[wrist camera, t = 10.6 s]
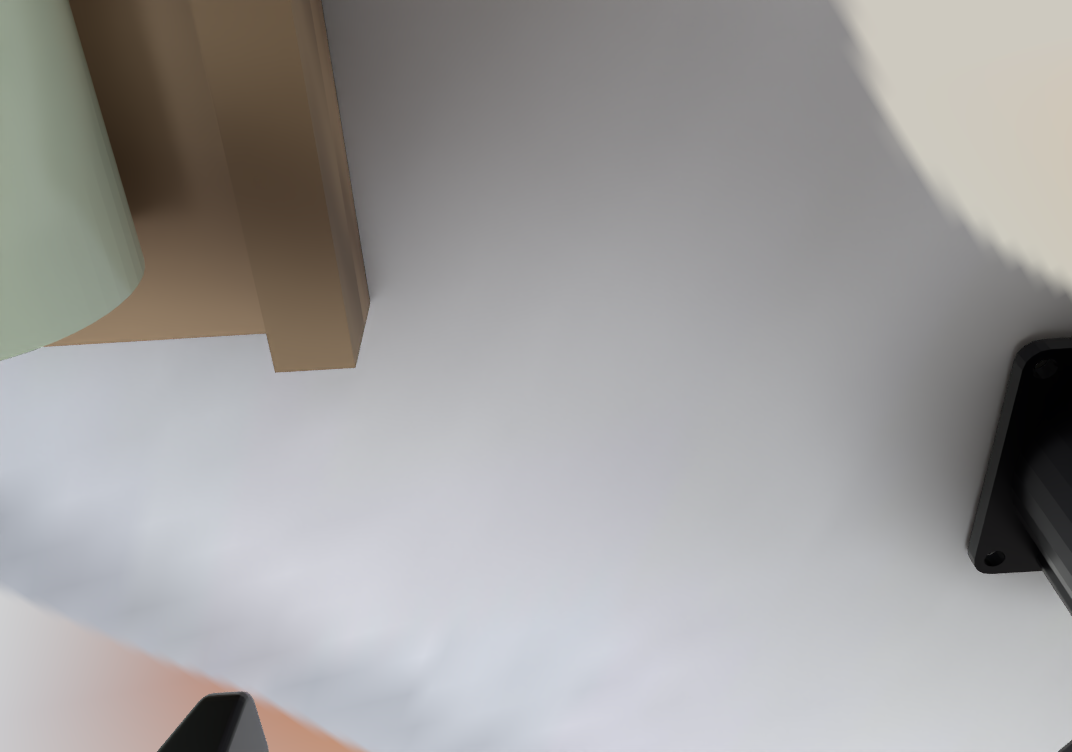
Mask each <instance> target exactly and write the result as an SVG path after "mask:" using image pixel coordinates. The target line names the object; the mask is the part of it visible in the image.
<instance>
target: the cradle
mask: <svg viewBox="0 0 1072 752" xmlns="http://www.w3.org/2000/svg"><path fill="white" fill-rule="evenodd" d="M69 4H70V7H71V11H72V14H73V18H74V21H75V24H76V28H77V31H78V35H79V38H80V41H81V45H82V48H83V52H84V55H85V59H86V62H87V65H88V69H89V72H90V76H91V79H92V82H93V86H94V89H95V93H96V96H97V100H98V103H99V106H100V110H101V113H102V117H103V120H104V123H105V127H106V130H107V134H108V137H109V141H110V144H111V147H112V151H113V154H114V158H115V161H116V164H117V168H118V171H119V175H120V178H121V182H122V185H123V188H124V192H125V195H126V199H127V202H128V205H129V209H130V212H131V216H132V219H133V222H134V226H135V229H136V233H137V236H138V240H139V243H140V246H141V250H142V253H143V257H144V261H145V270H144V275H143V277H142V279H141V281H140V283H139V285H138V286H137V287H136V289H135V290H134V291H133V292H132V294H131V295H130V296H129V297H128V298H126V299H125V300H124V301H123V302H122V303H121V304H120V305H119V306H117V307H116V308H115V309H113V310H112V311H111V312H110V313H108V314H107V315H105V316H104V317H102V318H100V319H99V320H97V321H96V322H94V323H92V324H91V325H89V326H87V327H85V328H83V329H81V330H79V331H78V332H76V333H74V334H71V335H69V336H67V337H65V338H63V339H60V340H58V341H56V342H54V343H51V344H48V345H46V346H43V347H48V346H64V345H81V344H97V343H114V342H131V341H147V340H164V339H181V338H197V337H214V336H230V335H247V334H264V333H266V335H267V339H268V344H269V348H270V352H271V357H272V361H273V365H274V370H275V372H292V371H308V370H325V369H342V368H355V367H356V363H357V359H358V354H359V350H360V345H361V341H362V337H363V332H364V328H365V324H366V319H367V315H368V310H369V306H370V300H369V293H368V287H367V281H366V275H365V269H364V262H363V256H362V250H361V244H360V238H359V231H358V225H357V219H356V213H355V207H354V200H353V194H352V188H351V182H350V176H349V169H348V163H347V157H346V151H345V145H344V138H343V132H342V126H341V120H340V114H339V107H338V101H337V95H336V89H335V83H334V77H333V70H332V64H331V58H330V52H329V46H328V39H327V33H326V27H325V21H324V15H323V8H322V2H321V0H69Z"/></svg>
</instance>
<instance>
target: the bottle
mask: <svg viewBox="0 0 1072 752" xmlns="http://www.w3.org/2000/svg"><path fill="white" fill-rule="evenodd" d="M144 270H145V261H144V257H143V253H142V250H141V246H140V243H139V240H138V236H137V233H136V229H135V226H134V222H133V219H132V216H131V212H130V209H129V205H128V202H127V199H126V195H125V192H124V188H123V185H122V182H121V178H120V175H119V171H118V168H117V164H116V161H115V158H114V154H113V151H112V147H111V144H110V141H109V137H108V134H107V130H106V127H105V123H104V120H103V117H102V113H101V110H100V106H99V103H98V100H97V96H96V93H95V89H94V86H93V82H92V79H91V76H90V72H89V69H88V65H87V62H86V59H85V55H84V52H83V48H82V45H81V41H80V38H79V35H78V31H77V28H76V24H75V21H74V18H73V14H72V11H71V7H70V4H69V0H0V361H1V360H4V359H8V358H11V357H15V356H18V355H21V354H24V353H27V352H30V351H33V350H36V349H38V348H41V347H43V346H46V345H48V344H51V343H54V342H56V341H58V340H60V339H63V338H65V337H67V336H69V335H71V334H74V333H76V332H78V331H79V330H81V329H83V328H85V327H87V326H89V325H91V324H92V323H94V322H96V321H97V320H99V319H100V318H102V317H104V316H105V315H107V314H108V313H110V312H111V311H112V310H113V309H115V308H116V307H117V306H119V305H120V304H121V303H122V302H123V301H124V300H125V299H126V298H128V297H129V296H130V295H131V294H132V292H133V291H134V290H135V289H136V287H137V286H138V285H139V283H140V281H141V279H142V277H143V275H144Z"/></svg>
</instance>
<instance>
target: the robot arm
mask: <svg viewBox="0 0 1072 752" xmlns="http://www.w3.org/2000/svg"><path fill="white" fill-rule="evenodd" d="M1046 359H1048V361H1047V363H1046V364H1045V365H1044V366H1042V367H1041V368H1037V369H1034V368H1035V366H1036V364H1038V363H1039V362H1040V361H1042V360H1046ZM991 552H994V553H992V554H990V553H991ZM988 554H990V555H988ZM968 555H969V557H970V559H971V561H972V562H973V564H974V566H975V567H976V569H977V570H978V571H980V572H982V573H987V574H997V573H1013V572H1030V571H1043V572H1044V574H1045V575H1046V577H1047V579H1048V580H1049V582H1050V583H1051V585H1052V586H1053V588H1054V589H1055V591H1056V592H1057V594H1058V595H1059V597H1060V599H1061V600H1062V602H1063V603H1064V605H1065V606H1066V608H1067V609H1068V611H1069V612H1070V614H1071V616H1072V338H1059V339H1042V340H1038V341H1033V342H1031V343H1029V344H1028V345H1026V346H1024V347H1023V348H1022V349H1021V350H1020V351H1019V352H1018V353H1017V356H1016V358H1015V360H1014V363H1013V367H1012V371H1011V375H1010V379H1009V383H1008V387H1007V392H1006V396H1005V400H1004V404H1003V408H1002V412H1001V416H1000V420H999V424H998V428H997V432H996V436H995V440H994V444H993V448H992V453H991V457H990V461H989V465H988V469H987V473H986V477H985V481H984V485H983V489H982V493H981V497H980V501H979V505H978V510H977V514H976V518H975V522H974V526H973V530H972V534H971V538H970V542H969V546H968ZM157 752H269V751H268V745H267V742H266V738H265V735H264V732H263V729H262V725H261V722H260V719H259V716H258V712H257V710H256V706H255V703H254V700H253V698H252V697H251V695H250V694H249V693H247V692H225V693H213V694H209V695H207V696H205V697H203V698H202V699H201V700H200V701H199V702H198V703H197V705H196V706H195V707H194V708H193V709H192V710H191V712H190V713H189V714H188V715H187V716H186V718H185V719H184V720H183V722H181V724H180V725H179V726H178V727H177V728H176V730H175V731H174V732H173V733H172V734H171V736H170V737H169V738H168V739H167V740H166V742H165V743H164V744H163V745H162V746H161V748H160V749H159V750H158V751H157ZM1058 752H1072V740H1071V741H1070V742H1069V743H1068V744H1067V745H1065V746H1064V747H1063V748H1062V749H1061V750H1059V751H1058Z"/></svg>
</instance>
